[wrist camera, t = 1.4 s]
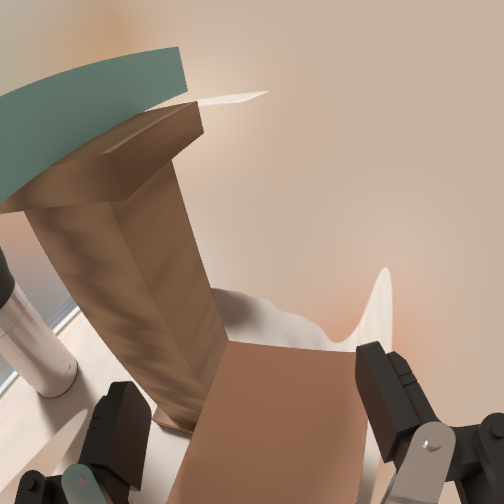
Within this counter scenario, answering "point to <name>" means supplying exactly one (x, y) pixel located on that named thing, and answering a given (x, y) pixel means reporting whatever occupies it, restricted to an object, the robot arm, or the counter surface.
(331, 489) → the ledge
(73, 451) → the counter surface
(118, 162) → the stand
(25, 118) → the bar
